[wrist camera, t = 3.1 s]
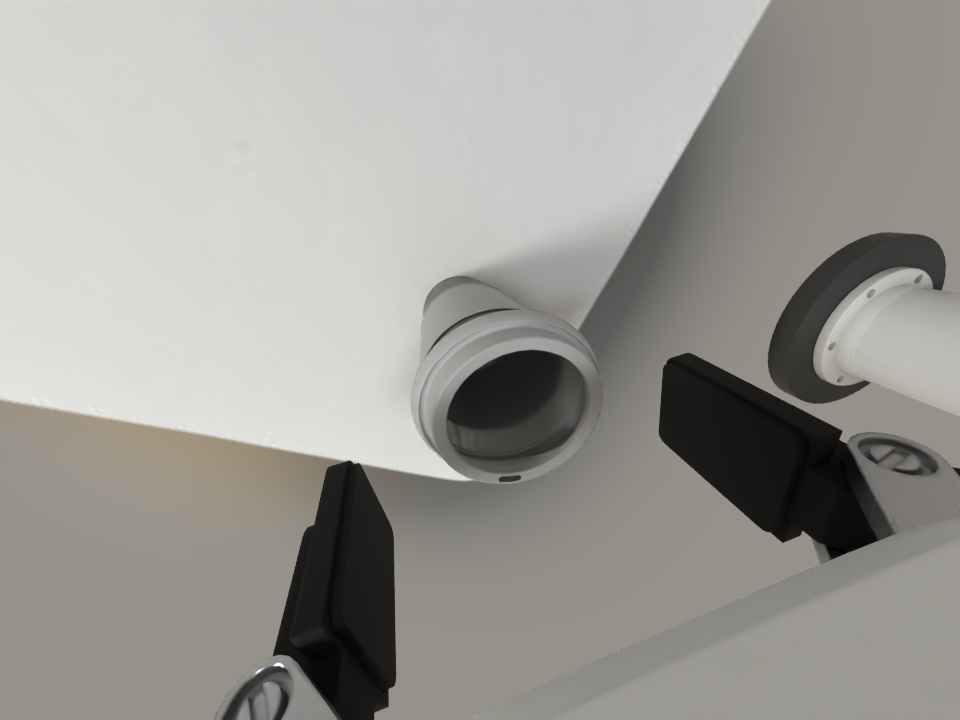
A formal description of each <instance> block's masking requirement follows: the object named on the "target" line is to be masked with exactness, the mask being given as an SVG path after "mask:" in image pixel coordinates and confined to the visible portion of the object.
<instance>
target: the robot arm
mask: <svg viewBox="0 0 960 720" xmlns="http://www.w3.org/2000/svg"><path fill="white" fill-rule="evenodd" d="M813 366H814V369H815V372H816V374H817V375H818V376H819V378H821V379H823V380H824V381H827V382H829V383H831V384H834V385H839V386H846V385H852V384H855V383H858V382H861V381H864V380H866V381H869V382H872V383H875V384H877V385H879V386H882V387H885V388H887V389H890V390H893V391H895V392H898V393H900V394H903V395H905V396H908V397H911V398H913V399H916V400H918V401H921V402H924V403H926V404H929V405H932V406H934V407H937V408H939V409H942V410H945V411H947V412H950V413H952V414H955V415H957V416H960V294H957V293H951V292H945V291H939V290H933V284H932V281H931V278H930V276H929V275H928V274H927V273H926V272H925V271H923V270H920V269H917V268H910V267H893V268H890V269H886V270H883V271H881V272H879V273H877V274H875V275H873V276H871V277H870V278H868V279H867V280H865V281H864V282H862V283H861V284H859V285H858V286H857V287H856V288H855V289H853V290H852V291H851V292H850V293H849V294H848V295H847V296H846V297H845V298H844V299H843V300H842V301H841V302H840V303H839V304H838V306H837V307H836V308H835V309H834V311H833V312H832V313H831V314H830V316H829V318H828V319H827V321H826V322H825V324H824V325H823V327H822V330H821V332H820V334H819V336H818V338H817V341H816V344H815V347H814V353H813ZM841 433H842V430H840V429H838V428H836V427H834V426H832V425H830V424H828V423H826V422H824V421H822V420H820V419H818V418H816V417H814V416H812V415H810V414H809V413H807V412H805V411H803V410H801V409H799V408H797V407H795V406H793V405H791V404H789V403H787V402H785V401H783V400H781V399H779V398H777V397H775V396H773V395H771V394H770V393H768V392H766V391H763V390H762V389H760V388H758V387H756V386H754V385H752V384H750V383H748V382H746V381H744V380H742V379H740V378H738V377H736V376H734V375H732V374H730V373H728V372H727V371H724V370H723V369H720V368H719V367H717V366H715V365H713V364H711V363H709V362H707V361H705V360H703V359H701V358H699V357H697V356H695V355H693V354H691V353H685V354H682V355H679V356H676V357H673V358H670V359H668V361H667V363H666V365H665V366H664V368H663V378H662V392H661V406H660V422H659V435H660V438H661V439H662V441H663V442H664V443H665V444H666V445H667V446H668V447H669V448H670V449H672V450H673V451H674V452H675V453H676V454H677V455H678V456H679V457H681V458H682V459H683V460H684V461H685V462H686V463H687V464H688V465H690V466H691V467H692V468H693V469H694V470H695V471H697V472H698V473H699V474H700V475H701V476H702V477H703V478H704V479H705V480H706V481H708V482H709V483H710V484H711V485H712V486H713V487H714V488H716V489H717V490H718V491H719V492H720V493H721V494H722V495H723V496H725V497H726V498H727V499H728V500H729V501H730V502H731V503H733V504H734V505H735V506H736V507H737V508H738V509H739V510H740V511H742V512H743V513H744V514H745V515H746V516H747V517H748V518H749V519H751V520H752V521H753V522H754V523H755V524H756V525H757V526H759V527H760V528H761V529H762V530H764V531H766V532H771V533H772V534H773V535H774V536H775V537H776V538H778V539H779V540H780V541H781V542H782V543H784V542H786V541H788V540H791V539H793V538H795V537H798V536H800V535H801V533H802V531H804V532H805V533H807V534H808V535H809V536H810V537H811V538H812V541H813V544H814V547H815V550H816V553H817V556H818V559H819V562H820V565H818V566H816V567H814V568H811V569H809V570H806V571H804V572H802V573H800V574H797V575H795V576H792V577H790V578H788V579H785V580H783V581H781V582H778V583H776V584H774V585H771V586H769V587H766V588H764V589H762V590H760V591H757V592H755V593H752V594H750V595H748V596H745V597H743V598H741V599H738V600H736V601H734V602H731V603H729V604H727V605H725V606H722V607H720V608H717V609H716V610H713V611H711V612H708V613H706V614H704V615H701V616H699V617H697V618H694V619H692V620H690V621H687V622H685V623H683V624H680V625H678V626H676V627H674V628H671V629H669V630H667V631H664V632H662V633H660V634H657V635H655V636H653V637H650V638H648V639H646V640H643V641H641V642H639V643H637V644H634V645H632V646H630V647H627V648H625V649H623V650H620V651H618V652H616V653H614V654H611V655H609V656H607V657H605V658H602V659H600V660H598V661H596V662H594V663H591V664H589V665H586V666H584V667H582V668H579V669H577V670H575V671H573V672H570V673H568V674H566V675H563V676H561V677H559V678H557V679H554V680H552V681H550V682H548V683H545V684H543V685H541V686H538V687H536V688H534V689H532V690H529V691H527V692H525V693H522V694H520V695H518V696H516V697H513V698H511V699H509V700H507V701H504V702H502V703H500V704H498V705H496V706H494V707H492V708H489V709H487V710H485V711H483V712H481V713H479V714H476V715H474V716H472V717H470V718H468V719H466V720H960V469H959V468H953V467H951V466H950V464H949V463H948V462H947V461H946V460H945V459H944V458H943V457H941V456H940V455H939V454H938V453H936V452H935V451H933V450H931V449H930V448H928V447H926V446H924V445H922V444H920V443H917V442H915V441H912V440H910V439H906V438H903V437H900V436H896V435H891V434H885V433H875V432H866V433H859V434H856V435H854V436H852V437H850V439H849V441H848V443H847V444H846V443H844V442H842V441H840V440H839V438H840V436H841ZM394 587H395V586H394V537H393V531H392V527H391V525H390V523H389V520H388V519H387V517H386V514H385V513H384V510H383V508H382V506H381V505H380V502H379V501H378V498H377V496H376V494H375V493H374V491H373V488H372V486H371V484H370V482H369V480H368V478H367V476H366V474H365V472H364V470H363V468H362V467H361V465H360V464H359V463H357V464H353V463H352V462H351V461H346V462H343V463H340V464H337V465H333V466H330V467H328V469H327V471H326V475H325V480H324V484H323V489H322V493H321V497H320V502H319V506H318V511H317V516H316V520H315V525H313V526H310V527H308V528H307V529H306V531H305V532H304V535H303V538H302V542H301V546H300V550H299V554H298V558H297V562H296V566H295V570H294V574H293V578H292V582H291V586H290V590H289V594H288V598H287V601H286V606H285V609H284V614H283V618H282V622H281V625H280V629H279V634H278V637H277V642H276V646H275V649H274V653H273V657H269V658H266V659H265V660H263V661H261V662H260V663H258V664H256V665H255V666H253V667H252V668H251V669H250V670H249V671H248V672H246V674H244V675H243V676H242V677H241V678H240V679H239V680H238V681H237V683H236V684H235V685H234V686H233V688H232V689H231V690H230V691H229V693H228V694H227V695H226V697H225V699H224V701H223V702H222V704H221V705H220V707H219V709H218V711H217V713H216V715H215V718H214V720H374V713H375V712H377V711H379V710H381V709H384V708H387V707H388V705H389V704H388V703H389V701H388V699H389V697H388V689H389V688H391V687H393V686H394V685H395V682H396V649H395V647H396V643H395V589H394Z"/></svg>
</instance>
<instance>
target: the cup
mask: <svg viewBox="0 0 960 720" xmlns="http://www.w3.org/2000/svg"><path fill="white" fill-rule="evenodd" d="M602 395H603V394H602V384H601V380H600V371H599V366H598V362H597V359H596V357H595V355H594V353H593V351H592V349H591V347H590V345H589V344H588V342H587V341H586V339H585V338H584V337H583V336H582V334H580V332H579V331H578V330H576V329H575V328H574V327H573V326H572V325H570V324H569V323H567V322H565V321H564V320H562V319H560V318H558V317H555V316H553V315H550V314H547V313H544V312H539V311H532V310H528V309H526V308H525V307H523V306H521V305H520V304H518V303H517V302H515V301H513V300H512V299H510V298H509V297H507V296H505V295H504V294H502V293H500V292H499V291H497V290H496V289H494V288H491V287H489V286H486V285H483V284H482V283H480V282H479V281H477V280H475V279H473V278H469V277H464V276H457V277H451V278H448V279H446V280H444V281H442V282H440V283H439V284H437V285H436V286H435V287H434V288H433V289H432V290H431V292H430V293H429V295H428V296H427V299H426V301H425V304H424V318H423V321H422V327H421V366H420V368H419V370H418V372H417V374H416V377H415V380H414V383H413V387H412V393H411V410H412V416H413V419H414V423H415V425H416V427H417V429H418V431H419V433H420V435H421V437H422V438H423V440H424V441H425V443H426V444H427V445H428V447H429V448H431V449H432V450H433V451H434V452H435V453H436V454H437V455H438V456H439V457H441V458H442V459H444V460H445V462H446V463H447V464H448V465H449V466H450V467H452V468H453V469H454V470H455V471H457V472H459V473H460V474H462V475H464V476H466V477H468V478H471V479H474V480H477V481H479V482H486V483H492V484H509V483H516V482H521V481H526V480H529V479H533V478H536V477H539V476H541V475H543V474H545V473H547V472H549V471H551V470H553V469H555V468H557V467H558V466H559V465H561V464H563V463H564V462H566V461H567V460H568V459H569V458H570V457H571V456H572V455H574V454H575V453H576V452H577V451H578V450H579V449H580V448H581V447H582V445H583V444H584V443H585V442H586V441H587V439H588V438H589V436H590V434H591V433H592V431H593V430H594V428H595V426H596V423H597V421H598V418H599V416H600V412H601V406H602V400H603V398H602Z"/></svg>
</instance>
